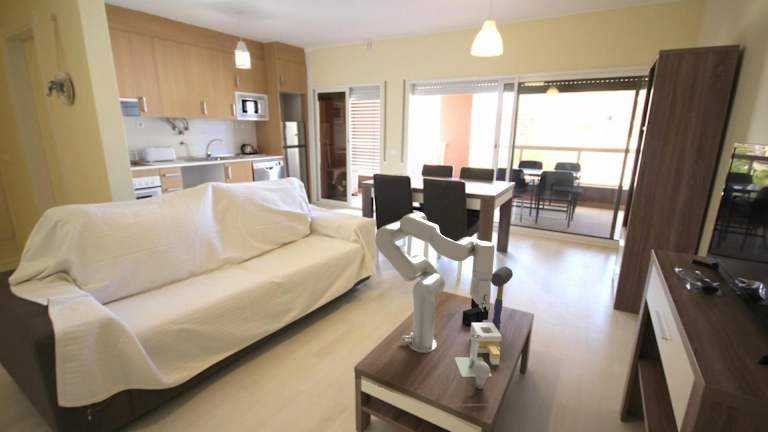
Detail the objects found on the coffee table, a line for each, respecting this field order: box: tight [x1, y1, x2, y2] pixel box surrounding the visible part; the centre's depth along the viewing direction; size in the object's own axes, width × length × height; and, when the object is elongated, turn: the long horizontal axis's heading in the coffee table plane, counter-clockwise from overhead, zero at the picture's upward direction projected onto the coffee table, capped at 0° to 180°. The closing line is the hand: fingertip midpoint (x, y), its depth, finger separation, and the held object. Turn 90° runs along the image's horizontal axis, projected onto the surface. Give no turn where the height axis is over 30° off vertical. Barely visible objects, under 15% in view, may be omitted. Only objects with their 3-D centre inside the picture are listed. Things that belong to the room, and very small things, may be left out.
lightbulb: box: [473, 361, 491, 390], centre depth 132 cm, size 6×6×11 cm
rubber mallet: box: [491, 266, 514, 327], centre depth 173 cm, size 12×8×30 cm, turn 141°
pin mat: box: [454, 356, 492, 378], centre depth 145 cm, size 12×12×1 cm
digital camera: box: [461, 306, 484, 328], centre depth 178 cm, size 10×5×7 cm, turn 121°
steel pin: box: [469, 333, 481, 369], centre depth 143 cm, size 4×4×14 cm
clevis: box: [469, 321, 503, 366], centre depth 154 cm, size 10×19×8 cm, turn 3°
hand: (479, 313), depth 140 cm, fingers open, 9 cm apart
